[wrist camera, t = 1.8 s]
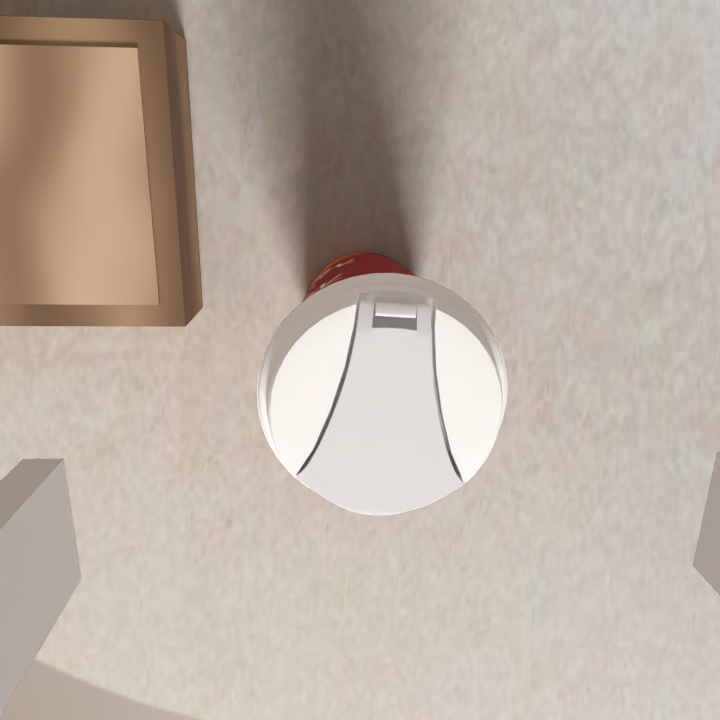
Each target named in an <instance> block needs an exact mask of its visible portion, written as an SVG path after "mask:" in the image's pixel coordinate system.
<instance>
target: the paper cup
mask: <svg viewBox="0 0 720 720" xmlns="http://www.w3.org/2000/svg"><path fill="white" fill-rule="evenodd" d="M506 401H507V375H506V367H505V363H504V359H503V356H502V352H501V349H500V347H499V345H498V342H497V340H496V338H495V336H494V334H493V332H492V330H491V329H490V328H489V326H488V325H487V323H486V322H485V320H484V319H483V318H482V316H481V315H480V314H479V313H478V312H477V311H476V310H475V309H474V308H473V307H472V306H471V305H470V304H469V303H468V302H467V301H465V300H464V299H462V298H461V297H460V296H458V295H457V294H456V293H454V292H453V291H451V290H449V289H447V288H445V287H443V286H441V285H439V284H437V283H435V282H433V281H430V280H426V279H423V278H420V277H417V276H415V275H414V274H412V273H411V272H410V271H408V270H407V269H405V268H404V267H403V266H401V265H400V264H398V263H397V262H395V261H393V260H391V259H389V258H387V257H385V256H382V255H379V254H374V253H367V252H360V253H352V254H348V255H345V256H342V257H340V258H338V259H336V260H334V261H333V262H331V263H330V264H328V265H327V266H326V267H325V268H324V269H323V270H322V271H321V272H320V273H319V274H318V276H317V277H316V278H315V280H314V281H313V283H312V284H311V286H310V288H309V290H308V291H307V293H306V295H305V297H304V299H303V301H302V303H300V304H299V305H298V306H297V307H296V308H295V309H294V310H293V311H292V312H291V313H290V314H289V315H288V316H287V317H286V318H285V319H284V320H283V322H282V323H281V325H280V326H279V328H278V329H277V331H276V332H275V333H274V335H273V336H272V339H271V341H270V343H269V345H268V347H267V349H266V351H265V353H264V356H263V360H262V363H261V367H260V371H259V376H258V385H257V402H258V412H259V416H260V421H261V425H262V429H263V431H264V433H265V436H266V438H267V441H268V443H269V445H270V447H271V448H272V450H273V451H274V453H275V455H276V456H277V458H278V459H279V461H280V462H281V463H282V464H283V465H284V466H285V468H286V469H287V470H288V471H289V472H290V473H291V474H292V475H293V476H294V477H295V478H297V479H298V480H299V481H300V482H302V483H303V484H304V485H305V486H307V487H309V488H310V489H312V490H313V491H314V492H316V493H317V494H319V495H320V496H322V497H323V498H325V499H326V500H328V501H330V502H332V503H334V504H336V505H338V506H340V507H342V508H344V509H346V510H348V511H351V512H354V513H358V514H365V515H394V514H399V513H403V512H406V511H410V510H414V509H417V508H420V507H423V506H426V505H429V504H431V503H433V502H434V501H436V500H438V499H440V498H442V497H444V496H446V495H447V494H449V493H451V492H452V491H454V490H456V489H457V488H459V487H460V486H462V485H463V481H464V483H466V482H467V481H468V480H470V479H471V478H472V477H473V475H474V474H475V473H476V472H477V471H478V469H479V468H480V467H481V466H482V465H483V463H484V461H485V460H486V458H487V456H488V455H489V453H490V452H491V450H492V447H493V445H494V443H495V440H496V438H497V435H498V432H499V428H500V426H501V423H502V420H503V416H504V412H505V407H506ZM462 479H463V481H462Z"/></svg>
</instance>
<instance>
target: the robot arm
mask: <svg viewBox="0 0 720 720" xmlns="http://www.w3.org/2000/svg"><path fill="white" fill-rule="evenodd" d="M693 566H694V567H695V569H696V570H697V571H698V572H699V573H700V574H701V575H702V576H703V577H704V578H705V579H706V581H707V582H708V583H709V584H710V585H711V586H712V587H713V588H714V589H715V590H716V591H717V593H718V594H719V595H720V452H717V455H716V459H715V464H714V469H713V473H712V478H711V482H710V487H709V492H708V496H707V501H706V506H705V510H704V515H703V520H702V524H701V529H700V534H699V538H698V543H697V548H696V552H695V557H694V561H693ZM80 580H81V572H80V565H79V558H78V552H77V545H76V538H75V531H74V524H73V518H72V511H71V504H70V497H69V490H68V484H67V477H66V470H65V463H64V459H23V460H22V461H21V462H20V463H19V464H18V465H17V466H16V467H15V468H13V469H12V470H11V471H10V472H9V473H8V474H7V475H6V476H5V477H4V478H3V479H2V480H1V481H0V716H1V714H2V712H3V710H4V709H5V707H6V705H7V703H8V702H9V700H10V699H11V697H12V695H13V694H14V692H15V690H16V688H17V687H18V685H19V683H20V682H21V680H22V678H23V676H24V675H25V673H26V671H27V670H28V668H29V666H30V665H31V663H32V661H33V660H34V658H35V656H36V655H37V653H38V651H39V650H40V648H41V646H42V644H43V643H44V641H45V639H46V638H47V636H48V634H49V633H50V631H51V629H52V628H53V626H54V624H55V622H56V621H57V619H58V617H59V616H60V614H61V612H62V611H63V609H64V607H65V606H66V604H67V602H68V600H69V599H70V597H71V595H72V594H73V592H74V590H75V589H76V587H77V585H78V584H79V582H80Z"/></svg>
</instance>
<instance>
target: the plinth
mask: <svg viewBox="0 0 720 720" xmlns="http://www.w3.org/2000/svg"><path fill="white" fill-rule="evenodd" d="M202 308H203V304H202V288H201V273H200V257H199V241H198V226H197V210H196V194H195V179H194V163H193V147H192V132H191V116H190V100H189V85H188V69H187V54H186V40H185V39H183V38H182V37H181V36H180V35H179V34H178V33H177V32H175V31H174V30H173V29H172V28H171V27H170V26H169V25H167V24H166V23H165V22H164V21H163V20H128V19H92V18H56V17H19V16H0V326H186V325H187V324H188V323H189V322H190V321H191V320H192V319H193V318H194V316H195V315H196V314H197V313H198V312H199V311H200V310H201V309H202Z"/></svg>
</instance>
